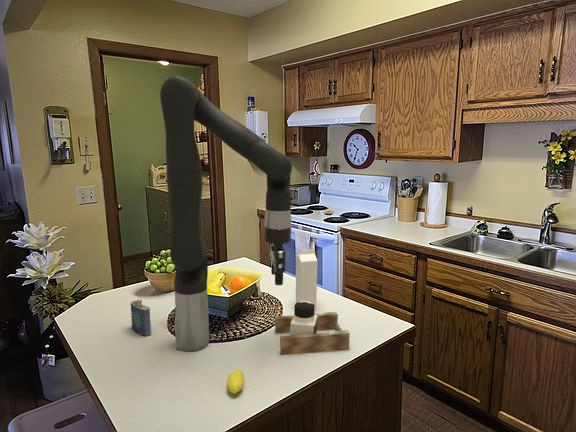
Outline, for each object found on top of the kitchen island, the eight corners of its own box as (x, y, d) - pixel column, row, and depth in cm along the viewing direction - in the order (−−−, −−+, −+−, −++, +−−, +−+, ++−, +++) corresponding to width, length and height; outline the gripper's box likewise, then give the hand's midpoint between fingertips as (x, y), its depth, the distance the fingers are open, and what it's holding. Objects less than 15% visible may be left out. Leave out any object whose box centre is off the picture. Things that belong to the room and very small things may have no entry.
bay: (280, 355, 110) (280, 337, 109) (275, 331, 123) (275, 315, 122) (349, 349, 113) (349, 332, 112) (335, 327, 126) (336, 311, 125)
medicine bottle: (313, 348, 114) (314, 309, 111) (290, 345, 115) (290, 307, 113) (317, 336, 121) (317, 299, 118) (294, 333, 122) (294, 297, 120)
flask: (153, 334, 121) (150, 302, 119) (144, 338, 119) (142, 305, 117) (137, 325, 127) (135, 294, 125) (129, 328, 125) (126, 297, 123)
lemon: (246, 378, 99) (246, 364, 98) (241, 399, 91) (241, 384, 91) (230, 378, 99) (229, 364, 99) (224, 398, 92) (223, 383, 91)
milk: (316, 311, 138) (318, 251, 134) (300, 313, 136) (301, 253, 132) (310, 304, 144) (312, 247, 139) (295, 306, 142) (296, 248, 138)
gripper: (262, 220, 116) (261, 271, 119) (267, 231, 102) (266, 289, 105) (287, 219, 117) (285, 270, 120) (295, 230, 104) (293, 288, 107)
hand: (276, 279), depth 113 cm, fingers open, 8 cm apart
